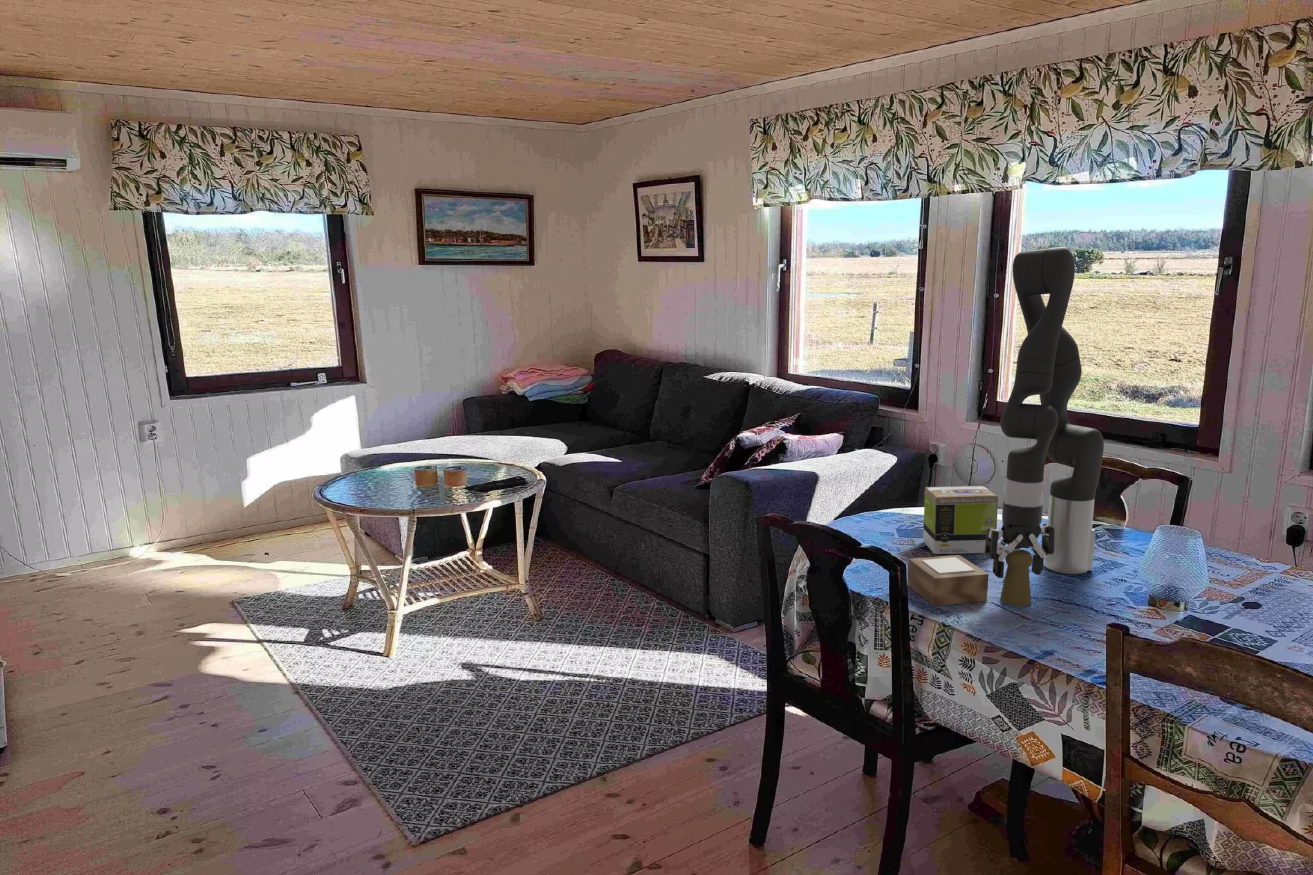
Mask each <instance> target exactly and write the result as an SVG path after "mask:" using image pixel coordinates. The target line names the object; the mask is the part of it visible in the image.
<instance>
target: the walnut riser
mask: <svg viewBox="0 0 1313 875" xmlns="http://www.w3.org/2000/svg"><path fill="white" fill-rule="evenodd" d="M907 568H908V569H907V583H908V585H909V586H908V585H907V586H908V587H910V588H911V589H912V590H913V591H914V592H916V593H917V594H919V596H921V597H922V598H923V599H924V600H926V601H927V602H928V603H930V605H932V606H933V607H934V606H946V605H948V606H949V605H956V604H957V605H958V604H968V603H979V602H980V603H981V602H987V601H988V589H989V588H988V586H989V575H990V574H989V573H988V572H986V571H985V570H983V569H982V568H980V567H978V566H977V565H975V564H974V563H973V562H971V561H970V560H968V559H966V558H965V557H963V556H962V555H960V554H954V555H953V554H951V555H942V556H929V557H915V558H914V557H913V558H908V566H907Z"/></svg>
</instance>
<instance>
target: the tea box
mask: <svg viewBox="0 0 1313 875" xmlns="http://www.w3.org/2000/svg"><path fill="white" fill-rule="evenodd" d="M923 506H924V507H923V508H924V510H923V532H922V533H923V535H922V536H923V537H922V538H923V540H922V541H923V543H924V544H925V545H926V546H927V547H928V548H929V550H930V551H931V552H932V554H934V555H950V554H951V555H953V554H954V555H960V554H984V552H985V544H986V536H987V530H988V528H992V529H998V528H997V526H998V506H999V496H998V495H997V494H995V493H994V492H992V491H991V490H990V489H988V488H987V487H985V485H965V486H964V485H963V486H927V487H926V486H925V488H924V505H923Z"/></svg>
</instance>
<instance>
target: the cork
mask: <svg viewBox="0 0 1313 875" xmlns="http://www.w3.org/2000/svg"><path fill="white" fill-rule="evenodd" d="M1004 560H1005V563H1006V565H1007V566H1006V567H1007V568H1006V570H1005V576H1004V580H1003V586H1002V590H1001V593H1000V594H1001V595H1000V597H999V598H1000V601H1001V603H1004V604H1006V605H1009V606H1013V607H1027V606H1030V605H1031V604H1032V597H1031V580H1030V567H1032V560H1033V555H1032V553H1030V552H1029V551H1028V550H1025V549H1023V548H1020V549H1013V551H1012V552H1011V553H1009V554H1007V556H1006V557H1005V558H1004Z"/></svg>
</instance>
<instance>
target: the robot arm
mask: <svg viewBox="0 0 1313 875" xmlns="http://www.w3.org/2000/svg"><path fill="white" fill-rule="evenodd" d="M1075 272H1076V265H1075V258H1074V255H1073V253H1072V251H1071V250H1070V249H1069V248H1067V247H1064V246H1062V247H1061V246H1059V247H1058V246H1057V247H1049V248H1041V249H1031V250H1024V251H1021V252H1018V253H1017V254H1016V255H1015V256H1014V258H1013V262H1012V278H1013V279H1012V280H1013V284H1014V289H1015V293H1016V295H1017V299H1018V302H1019V303H1018V304H1019V306H1020V309H1021V312H1022V316H1023V319H1024V323H1025V327H1026V332H1027V336H1025V338H1024V340H1023V342H1022V343H1021V345H1020V348H1019V350H1018V354H1017V359H1016V368H1015V375H1014V376H1015V377H1014V383H1013V387H1012V390H1011V393H1010V396H1009V398H1008V400H1007V403H1006V405H1005V407H1004V409H1003V411H1002V414H1001V417H1000V423H999V425H1000V429H1001V432H1002V433H1003V434H1004V435H1005V436H1006V437H1007V438H1013V439H1024V440H1025V439H1028V440H1035V441H1036V443H1035V444H1034V445H1032V446H1030V447H1022V448H1015V449H1012V450H1010V451H1009V453H1008V455H1007V464H1006V479H1005V484H1004V488H1003V500H1002V501H1003V502H1002V513H1001V517H1002V518H1001V520H1002V526H1001V528H1000V529H998V528H997V529H992V528H988V530H987V536H986V544H985V552H984V553H983V554H984V555H985V556H986V557H988V558H990V559H991V560H992V561H993V562H992V573H993V574H994V576H995V577H996V578H998V579H1003V578H1004V574H1005V573H1004V572H1005V570H1004V569H1005V561H1004V560H1005V557H1006V556H1007V554H1009V553H1011V552H1012V551H1013V549H1031V551H1032V552H1033V555H1032V564H1031V573H1032V574H1034V575H1037V576H1039V575H1041V574H1042V572H1043V571H1044V567H1045V568H1046V569H1048V570H1049V571H1053V572H1055V573H1060V574H1066V575H1081V574H1085V573H1088V572H1089V571H1092V570H1093V564H1094V563H1093V562H1094V553H1095V543H1096V530H1095V529H1094V528H1093V521H1094V511H1095V510H1094V508H1095V498H1096V491H1097V489H1098V486H1099V483H1100V476H1101V471H1102V470H1101V468H1102V463H1103V456H1104V449H1105V443H1104V436H1103V434H1102V432H1100V431H1099V430H1098V429H1096V428H1092V427H1087V426H1081V425H1076V424H1071V421H1070V420H1069V415H1068V404H1069V401H1070V399H1071V397H1072V395H1073V394H1074V392H1075V390H1076V388H1078V385H1079V383H1080V380H1081V378H1082V373H1083V372H1082V363H1081V358H1080V353H1079V347H1078V345H1077V344H1078V343H1077V342H1076V340H1075V339H1074V337H1073V335H1071V334H1070V333H1069V332H1068V331H1067V330H1066V328H1064V326H1063V324H1064V321H1065V317H1066V313H1067V310H1068V305H1069V302H1070V297H1071V295H1072V291H1073V286H1074V282H1075V274H1076V273H1075ZM1042 295H1049V297H1048V300H1047V303H1046V305H1045V302H1044V299H1043V297H1042ZM1037 395H1038V396H1039V401H1040V404H1037V403H1023V402H1024V401H1025V400H1026V399H1027V398H1029V397H1032V396H1037ZM1047 457H1048V459H1049V460H1050V461H1051V462H1053V463H1056V464H1059V465H1062V466H1069V467H1073V471H1072V475H1071V476H1069V477H1066V478H1065V477H1064V478H1059V479H1055V480H1053V481H1051V483H1050V489H1049V501H1048V502H1049V503H1048V512H1047V514H1048V515H1047V523H1043V524H1042V518H1043V509H1044V507H1043V506H1044V498H1045V497H1044V496H1045V490H1044V489H1045V488H1044V478H1045V465H1046V459H1047ZM1041 524H1042V525H1041ZM1040 535H1041V543H1040V542H1039V541H1038V537H1039V536H1040ZM1001 537H1002V538H1001ZM1006 545H1007V546H1006Z"/></svg>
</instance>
